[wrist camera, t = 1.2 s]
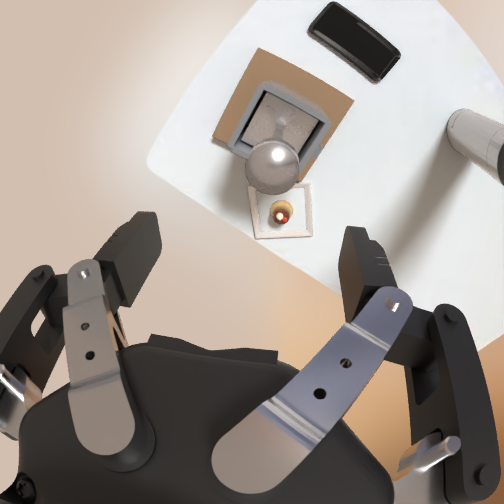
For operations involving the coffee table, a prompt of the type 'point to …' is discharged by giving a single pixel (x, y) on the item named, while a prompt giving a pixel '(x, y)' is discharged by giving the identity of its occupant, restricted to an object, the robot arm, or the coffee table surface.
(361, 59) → the phone
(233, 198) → the coffee table surface
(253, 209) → the dessert
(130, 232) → the robot arm
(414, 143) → the coffee table surface
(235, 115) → the grey square holder
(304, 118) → the plunger
